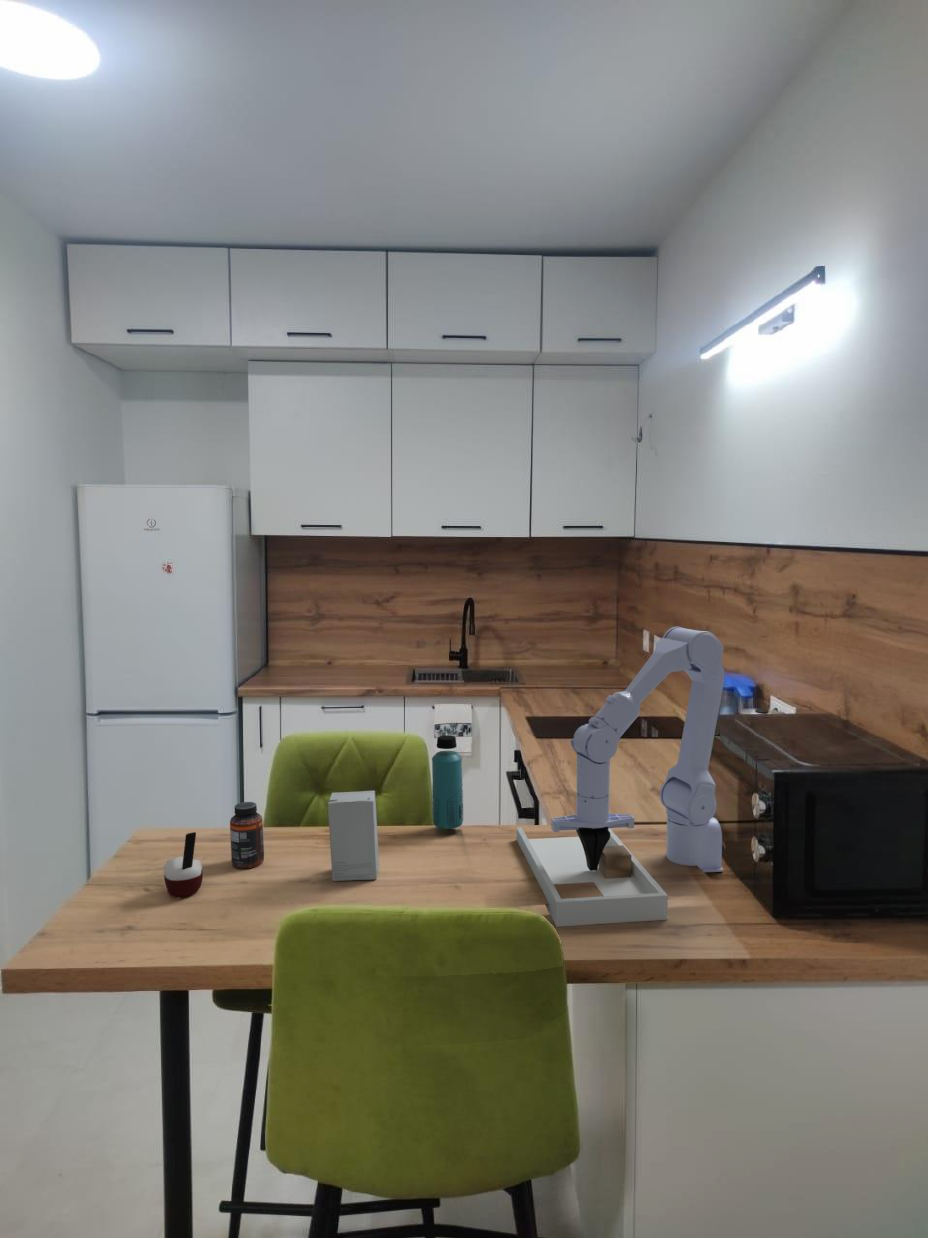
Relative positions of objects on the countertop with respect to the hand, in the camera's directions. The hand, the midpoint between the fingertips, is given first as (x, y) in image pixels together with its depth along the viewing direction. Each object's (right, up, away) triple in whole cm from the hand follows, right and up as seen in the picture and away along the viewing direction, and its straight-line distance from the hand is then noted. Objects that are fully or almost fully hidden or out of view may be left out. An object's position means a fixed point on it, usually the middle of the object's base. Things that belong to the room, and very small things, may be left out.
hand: (592, 868), depth 141 cm
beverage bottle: (-26, 0, +25) cm, 36 cm away
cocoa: (-71, -3, -5) cm, 71 cm away
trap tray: (-1, -2, +1) cm, 3 cm away
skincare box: (-43, -2, +3) cm, 43 cm away
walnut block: (+4, -1, 0) cm, 4 cm away
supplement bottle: (-63, -2, +8) cm, 64 cm away
